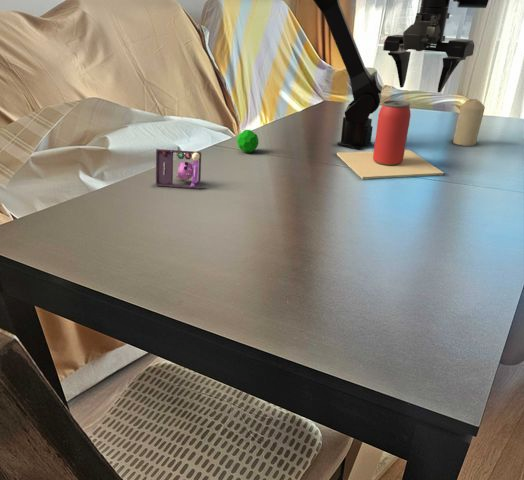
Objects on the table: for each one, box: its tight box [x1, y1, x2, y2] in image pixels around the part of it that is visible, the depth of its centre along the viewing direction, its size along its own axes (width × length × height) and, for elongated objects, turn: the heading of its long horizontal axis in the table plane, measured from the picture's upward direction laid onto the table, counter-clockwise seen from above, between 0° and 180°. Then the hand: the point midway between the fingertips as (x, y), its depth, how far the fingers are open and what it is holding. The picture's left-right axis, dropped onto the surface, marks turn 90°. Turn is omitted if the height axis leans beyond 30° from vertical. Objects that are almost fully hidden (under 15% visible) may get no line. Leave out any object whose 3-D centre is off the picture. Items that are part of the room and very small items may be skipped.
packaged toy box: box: [155, 148, 202, 189], centre depth 100 cm, size 7×5×9 cm
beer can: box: [373, 100, 412, 165], centre depth 109 cm, size 7×7×12 cm
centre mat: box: [336, 149, 445, 180], centre depth 113 cm, size 18×18×1 cm
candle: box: [452, 98, 486, 147], centre depth 125 cm, size 6×6×10 cm
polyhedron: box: [236, 129, 259, 154], centre depth 119 cm, size 5×5×5 cm
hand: (420, 89), depth 115 cm, fingers open, 9 cm apart
